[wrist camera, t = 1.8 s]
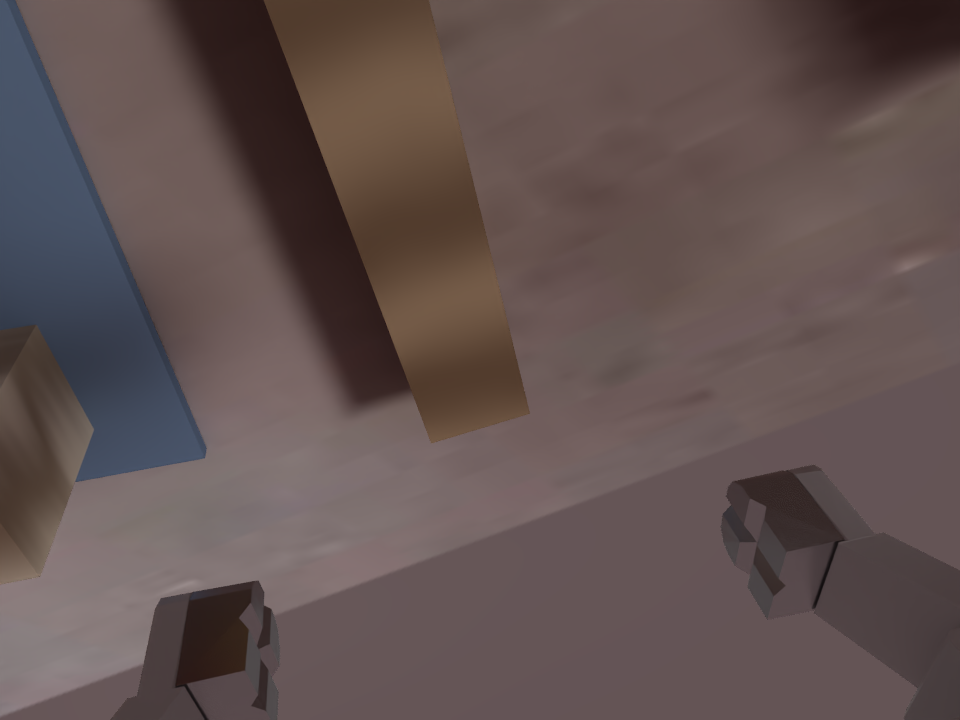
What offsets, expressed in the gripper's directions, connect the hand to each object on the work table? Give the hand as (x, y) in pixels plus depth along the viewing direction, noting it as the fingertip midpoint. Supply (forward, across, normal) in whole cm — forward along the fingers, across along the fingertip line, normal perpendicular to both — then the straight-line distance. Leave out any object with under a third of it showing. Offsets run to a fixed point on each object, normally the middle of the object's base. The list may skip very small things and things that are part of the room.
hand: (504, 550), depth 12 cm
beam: (+16, 0, 0) cm, 17 cm away
